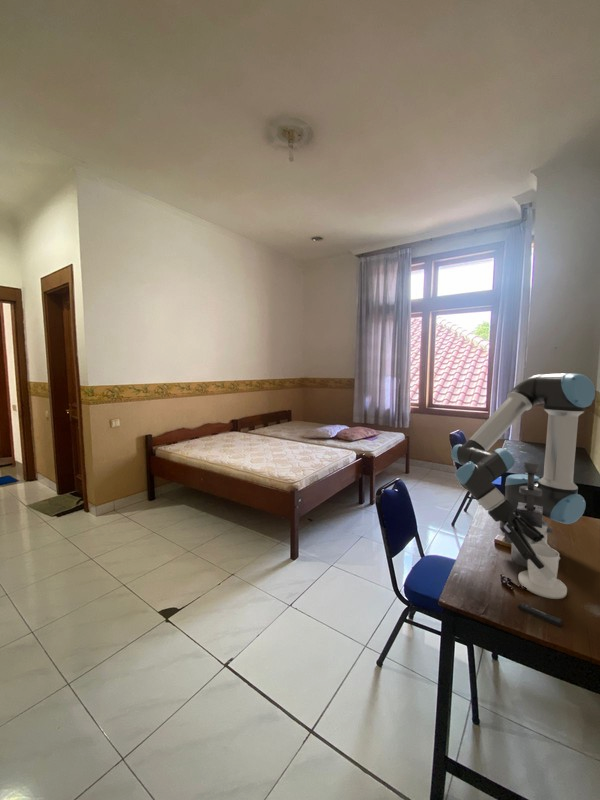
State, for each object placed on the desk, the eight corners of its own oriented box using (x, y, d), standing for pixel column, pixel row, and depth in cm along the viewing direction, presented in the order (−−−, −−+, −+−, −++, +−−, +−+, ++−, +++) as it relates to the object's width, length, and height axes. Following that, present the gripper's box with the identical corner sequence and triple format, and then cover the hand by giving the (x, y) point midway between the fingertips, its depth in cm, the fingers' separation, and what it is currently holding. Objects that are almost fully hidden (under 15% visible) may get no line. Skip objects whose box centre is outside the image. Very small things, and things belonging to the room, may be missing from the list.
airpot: (502, 560, 115) (504, 507, 114) (505, 548, 123) (507, 498, 121) (550, 573, 107) (553, 517, 105) (551, 559, 115) (553, 506, 113)
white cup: (540, 572, 106) (541, 542, 105) (564, 587, 98) (566, 555, 97) (520, 576, 104) (520, 545, 103) (543, 592, 96) (544, 559, 96)
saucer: (519, 569, 110) (520, 566, 109) (566, 582, 102) (566, 579, 102) (516, 588, 100) (516, 584, 100) (567, 604, 93) (567, 600, 93)
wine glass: (518, 509, 113) (519, 464, 111) (519, 503, 118) (520, 459, 117) (541, 514, 109) (542, 466, 108) (541, 508, 114) (543, 462, 113)
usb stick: (562, 623, 86) (563, 618, 86) (560, 629, 85) (561, 623, 84) (520, 605, 93) (520, 600, 93) (518, 610, 92) (518, 605, 91)
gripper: (495, 501, 118) (548, 558, 109) (477, 522, 101) (537, 592, 92) (513, 489, 115) (569, 547, 105) (497, 510, 97) (562, 581, 88)
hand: (554, 568), depth 98 cm, fingers open, 11 cm apart
